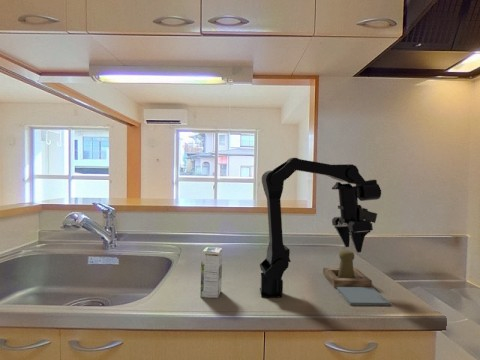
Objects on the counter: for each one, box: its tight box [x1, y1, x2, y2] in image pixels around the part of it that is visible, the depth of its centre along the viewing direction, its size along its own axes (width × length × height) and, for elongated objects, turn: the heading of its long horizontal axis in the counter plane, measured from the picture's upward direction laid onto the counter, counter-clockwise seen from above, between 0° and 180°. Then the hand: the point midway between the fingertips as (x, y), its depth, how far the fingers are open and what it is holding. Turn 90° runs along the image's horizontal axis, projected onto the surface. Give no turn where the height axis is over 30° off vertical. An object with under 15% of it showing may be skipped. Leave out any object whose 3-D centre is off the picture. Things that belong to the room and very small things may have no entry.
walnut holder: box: [322, 267, 373, 289], centre depth 111 cm, size 13×13×2 cm
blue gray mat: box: [336, 286, 391, 307], centre depth 97 cm, size 12×12×1 cm
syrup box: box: [199, 246, 224, 299], centre depth 97 cm, size 6×6×14 cm
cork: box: [338, 249, 355, 278], centre depth 111 cm, size 6×6×11 cm
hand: (352, 249), depth 100 cm, fingers open, 9 cm apart
